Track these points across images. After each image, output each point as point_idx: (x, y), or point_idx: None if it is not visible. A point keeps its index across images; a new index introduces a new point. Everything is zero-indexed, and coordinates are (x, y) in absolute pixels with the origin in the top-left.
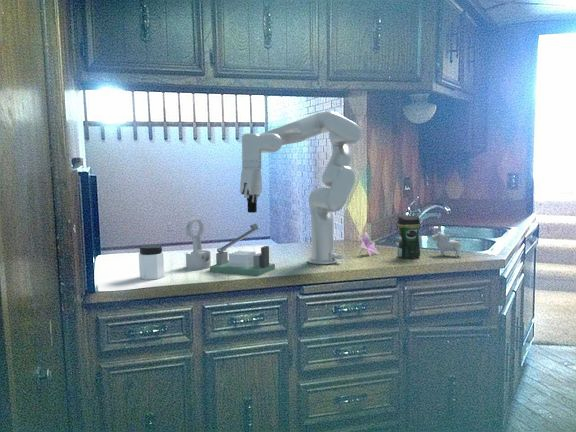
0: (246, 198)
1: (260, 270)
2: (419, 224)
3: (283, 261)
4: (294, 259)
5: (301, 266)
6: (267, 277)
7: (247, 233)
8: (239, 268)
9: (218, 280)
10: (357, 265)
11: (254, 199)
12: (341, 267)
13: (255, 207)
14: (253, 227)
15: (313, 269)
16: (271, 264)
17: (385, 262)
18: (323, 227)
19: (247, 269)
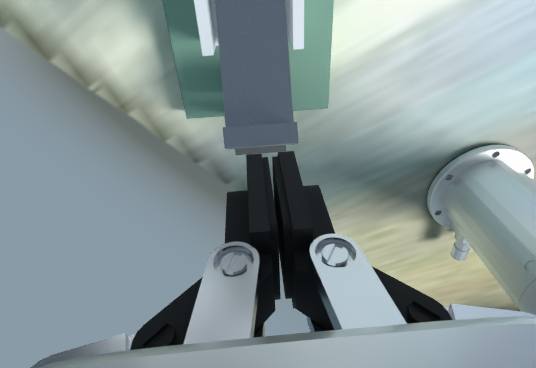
0: (147, 323)
1: (199, 116)
2: None
3: (476, 59)
4: (523, 81)
5: (387, 162)
6: (183, 147)
7: (223, 83)
8: (176, 18)
9: (22, 4)
10: (429, 273)
11: (317, 321)
12: (395, 254)
13: (280, 254)
14: (230, 148)
15: (350, 209)
16: (309, 103)
17: (476, 304)
18: (517, 305)
19: (178, 65)
